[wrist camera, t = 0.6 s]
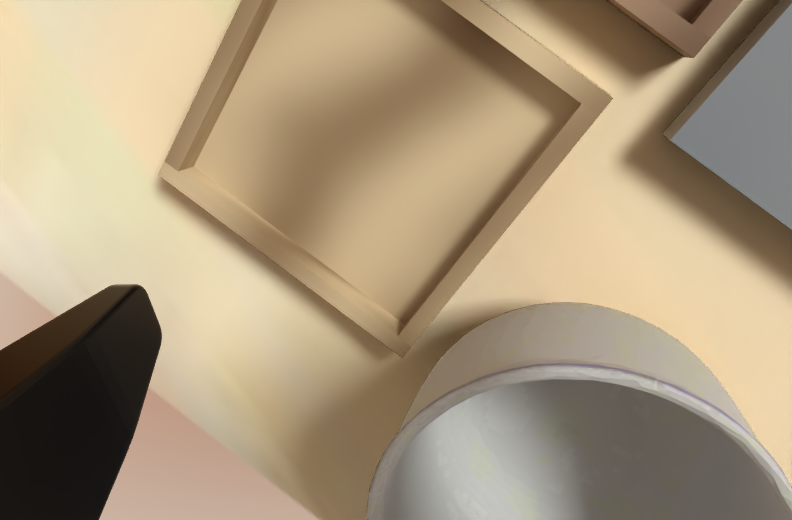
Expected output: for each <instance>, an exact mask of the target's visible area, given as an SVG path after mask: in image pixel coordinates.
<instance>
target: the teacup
mask: <svg viewBox="0 0 792 520" xmlns="http://www.w3.org/2000/svg"><path fill="white" fill-rule="evenodd" d="M367 520H792V486H791V485H790V483H789V482H788V480H787V478H786V476H785V474H784V472H783V471H782V469H781V468H780V467H779V465H778V464H777V463H776V461H775V460H774V459H773V457H772V456H771V455H770V453H769V452H768V451H767V450H766V449H765V448H764V447H763V446H762V444H761V443H760V442H759V441H758V439H757V437H756V435H755V434H754V432H753V430H752V429H751V427H750V426H749V424H748V423H747V421H746V420H745V418H744V417H743V415H742V413H741V412H740V410H739V409H738V407H737V406H736V404H735V403H734V401H733V400H732V398H731V397H730V396H729V394H728V393H727V391H726V390H725V389H724V387H723V386H722V385H721V383H720V382H719V381H718V379H717V378H716V377H715V376H714V374H713V373H712V372H711V371H710V370H709V368H708V367H707V366H706V365H705V364H704V363H703V362H702V361H701V360H700V359H699V358H698V357H697V356H696V355H695V354H694V353H693V352H692V351H690V350H689V349H688V348H687V347H686V346H685V345H683V344H682V343H681V342H679V341H678V340H677V339H675V338H674V337H672V336H671V335H669V334H668V333H666V332H665V331H663V330H662V329H660V328H658V327H656V326H654V325H652V324H650V323H648V322H646V321H644V320H642V319H640V318H638V317H636V316H633V315H630V314H627V313H624V312H621V311H619V310H615V309H611V308H607V307H603V306H598V305H592V304H586V303H571V302H562V303H547V304H538V305H532V306H528V307H524V308H520V309H516V310H512V311H509V312H507V313H504V314H501V315H499V316H497V317H495V318H493V319H490V320H488V321H486V322H484V323H482V324H481V325H479V326H477V327H476V328H474V329H473V330H471V331H470V332H468V333H467V334H466V335H464V336H463V337H462V338H461V339H460V340H458V341H457V342H456V343H455V344H454V345H453V346H452V347H451V348H450V349H449V350H448V351H447V352H446V353H445V354H444V355H443V356H442V357H441V358H440V360H439V361H438V362H437V363H436V365H435V366H434V367H433V369H432V370H431V372H430V374H429V375H428V377H427V378H426V380H425V381H424V383H423V384H422V386H421V388H420V390H419V391H418V393H417V395H416V397H415V399H414V401H413V403H412V405H411V407H410V409H409V411H408V413H407V415H406V417H405V419H404V421H403V423H402V426H401V428H400V430H399V432H398V433H397V435H396V436H395V437H394V439H393V440H392V441H391V443H390V444H389V446H388V447H387V449H386V451H385V452H384V454H383V456H382V458H381V460H380V462H379V464H378V466H377V469H376V471H375V474H374V477H373V480H372V483H371V486H370V489H369V498H368V505H367Z"/></svg>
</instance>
